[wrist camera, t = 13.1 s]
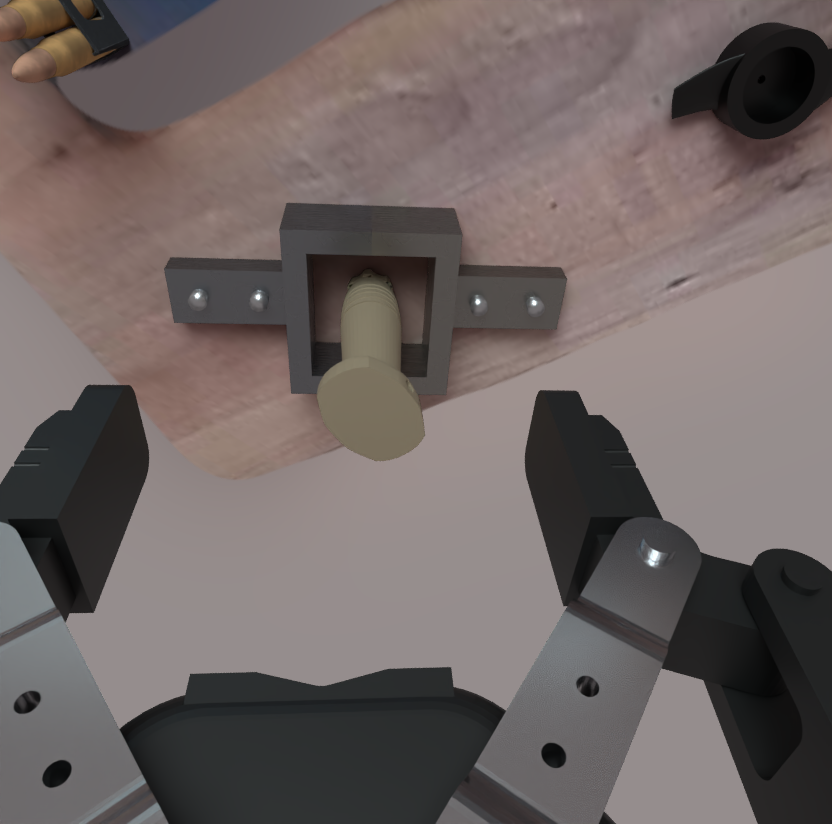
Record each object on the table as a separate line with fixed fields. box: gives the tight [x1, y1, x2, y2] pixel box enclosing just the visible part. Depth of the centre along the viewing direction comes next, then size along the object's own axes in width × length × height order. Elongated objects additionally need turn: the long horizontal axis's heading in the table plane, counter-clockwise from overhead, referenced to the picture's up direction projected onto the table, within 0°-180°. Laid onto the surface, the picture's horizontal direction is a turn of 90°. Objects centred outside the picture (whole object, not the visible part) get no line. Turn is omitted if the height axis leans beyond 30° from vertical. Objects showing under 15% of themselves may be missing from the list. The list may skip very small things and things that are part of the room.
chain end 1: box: [164, 203, 372, 394], centre depth 44 cm, size 14×12×4 cm
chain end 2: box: [371, 206, 567, 395], centre depth 46 cm, size 14×12×4 cm
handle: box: [317, 269, 425, 461], centre depth 41 cm, size 5×6×15 cm
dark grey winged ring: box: [672, 23, 832, 139], centre depth 39 cm, size 8×10×3 cm
